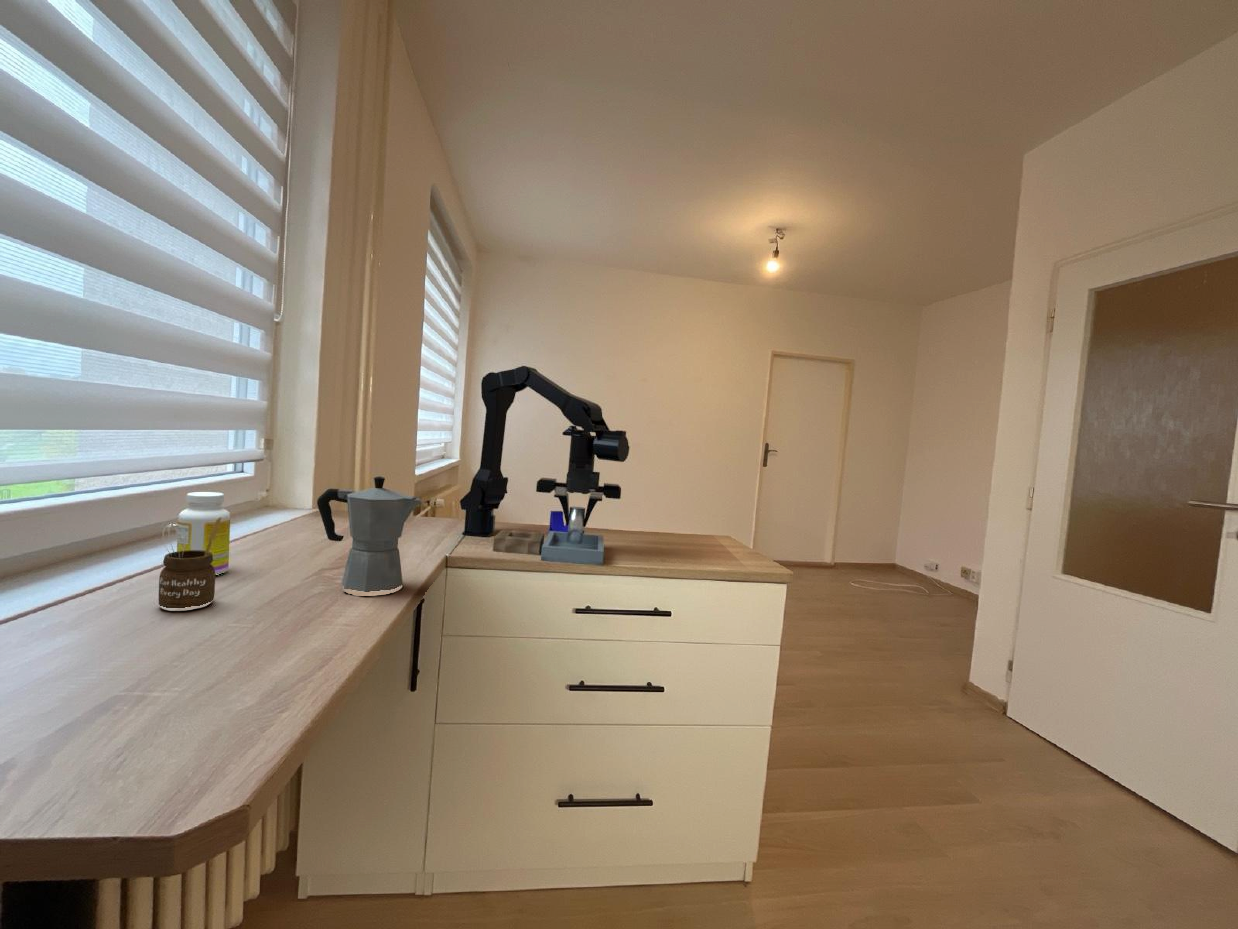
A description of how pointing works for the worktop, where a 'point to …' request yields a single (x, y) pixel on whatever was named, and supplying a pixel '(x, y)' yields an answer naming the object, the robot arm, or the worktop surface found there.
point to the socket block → (518, 542)
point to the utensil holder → (187, 575)
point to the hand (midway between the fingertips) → (575, 526)
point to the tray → (573, 549)
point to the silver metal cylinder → (576, 525)
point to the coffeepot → (370, 534)
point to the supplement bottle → (205, 527)
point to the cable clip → (557, 522)
